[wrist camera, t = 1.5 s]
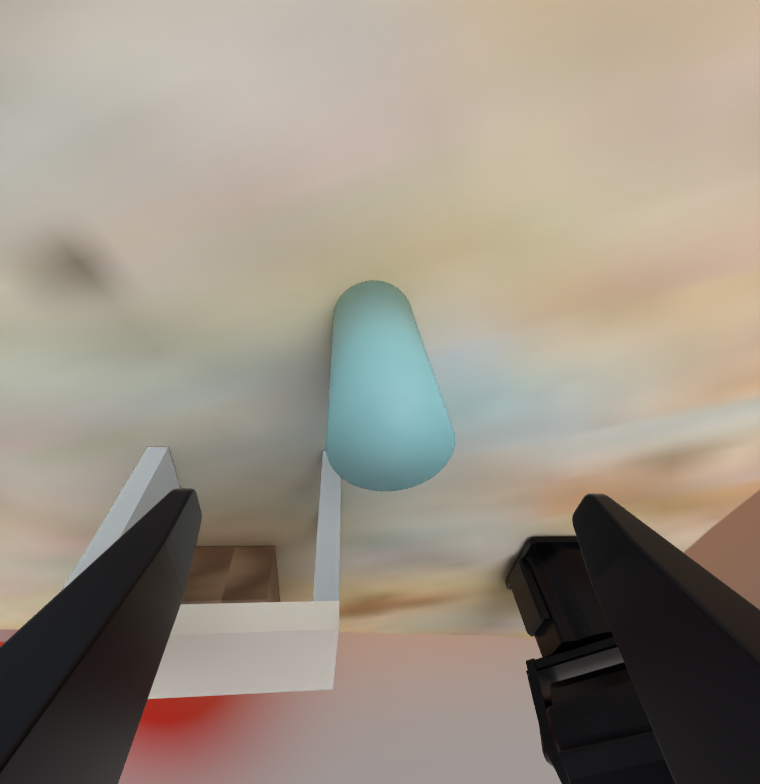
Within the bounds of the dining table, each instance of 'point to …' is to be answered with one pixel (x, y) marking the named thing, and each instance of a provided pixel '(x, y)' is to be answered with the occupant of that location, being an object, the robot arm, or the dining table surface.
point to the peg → (383, 394)
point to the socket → (232, 575)
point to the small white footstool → (238, 607)
